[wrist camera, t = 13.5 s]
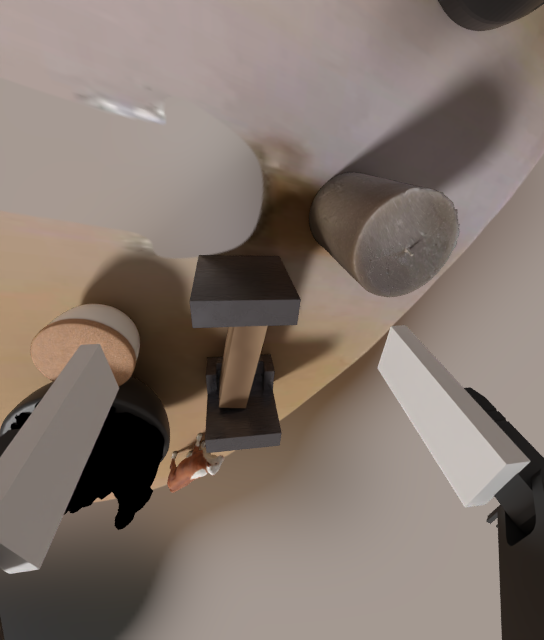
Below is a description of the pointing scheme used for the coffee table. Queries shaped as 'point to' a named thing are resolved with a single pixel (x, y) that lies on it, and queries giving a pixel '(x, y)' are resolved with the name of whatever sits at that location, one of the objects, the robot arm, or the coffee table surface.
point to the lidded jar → (87, 340)
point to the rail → (239, 364)
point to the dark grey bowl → (116, 449)
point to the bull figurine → (193, 466)
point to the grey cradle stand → (238, 311)
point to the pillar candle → (384, 231)
